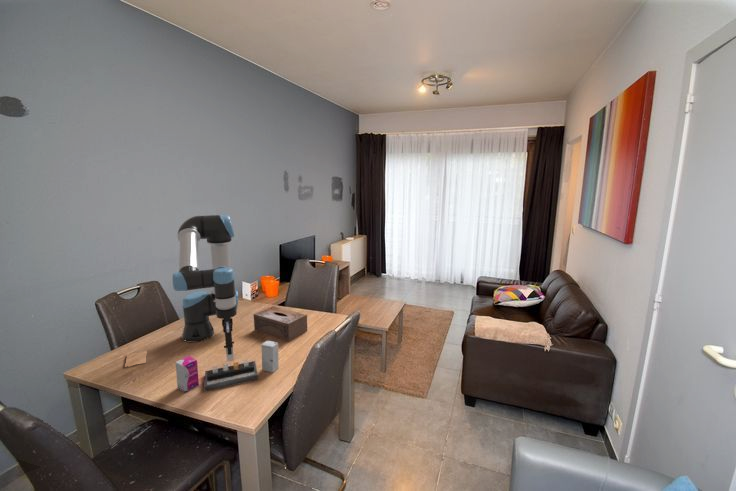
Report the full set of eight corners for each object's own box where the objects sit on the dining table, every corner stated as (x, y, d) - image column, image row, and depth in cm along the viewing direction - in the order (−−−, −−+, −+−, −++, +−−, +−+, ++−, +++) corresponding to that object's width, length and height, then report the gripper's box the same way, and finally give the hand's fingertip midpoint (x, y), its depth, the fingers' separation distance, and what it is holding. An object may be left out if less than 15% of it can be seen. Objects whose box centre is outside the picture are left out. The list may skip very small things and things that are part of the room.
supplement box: (185, 393, 126) (182, 366, 124) (177, 388, 129) (174, 361, 127) (199, 385, 131) (197, 359, 129) (191, 380, 134) (188, 355, 132)
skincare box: (261, 370, 142) (260, 344, 140) (268, 365, 146) (266, 340, 144) (273, 373, 140) (272, 347, 138) (279, 367, 144) (278, 342, 142)
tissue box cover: (254, 331, 181) (253, 314, 179) (273, 321, 193) (273, 305, 191) (289, 342, 168) (288, 324, 167) (307, 331, 181) (306, 314, 179)
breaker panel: (204, 391, 127) (203, 378, 126) (205, 375, 138) (204, 363, 137) (258, 379, 135) (257, 367, 134) (255, 365, 146) (254, 353, 145)
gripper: (215, 302, 135) (220, 354, 140) (215, 313, 124) (220, 370, 128) (235, 300, 138) (239, 351, 143) (236, 310, 127) (240, 365, 131)
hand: (230, 360), depth 135 cm, fingers closed
